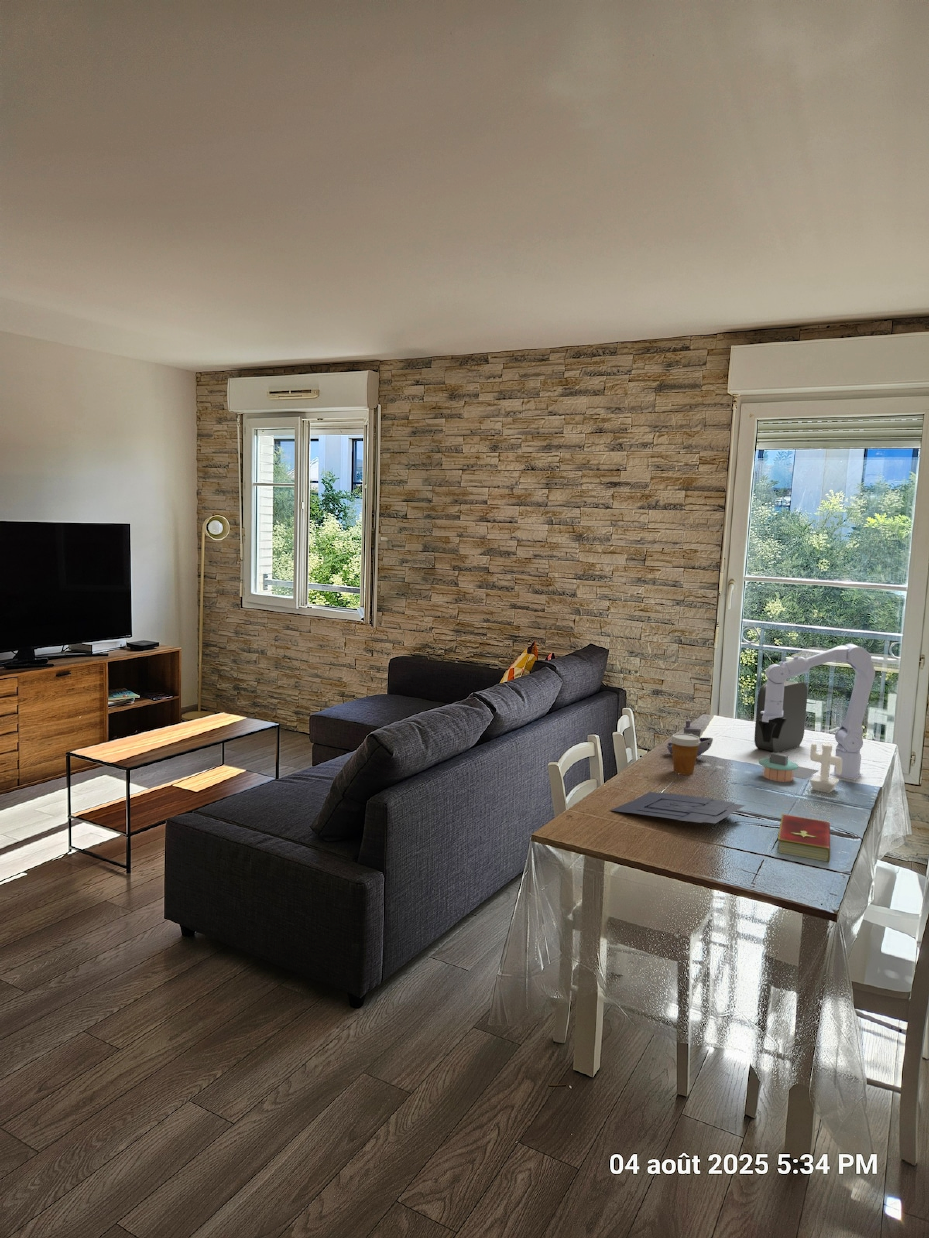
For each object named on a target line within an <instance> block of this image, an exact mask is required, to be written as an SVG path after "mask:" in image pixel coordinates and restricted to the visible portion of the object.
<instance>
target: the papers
mask: <svg viewBox="0 0 929 1238" xmlns="http://www.w3.org/2000/svg"><path fill="white" fill-rule="evenodd" d="M743 807H746V804H738V803H737V804H736V803H735V802H733V801H725V800H722V799H714V798H711V797H710V798H709V797H703V796H702V797H701V796H694V795H685V794H677V793H666V792H653V791H648V792H647V793H645V794H643V795H641V796H639V797H637V798H636V799H633V800H631V801H629V802H627V803H623V804H621V805H619V806H616V807H614V808H612V809H611V812H612V811H613V812H620V813H628V814H637V815H643V816H651V817H658V818H665V819H672V820H676V821H684V822H693V823H699V824H700V823H701V824H702V823H708V824H709V823H710V824H717V823H719V822H720V821H722V820H723V819H725V818H726V817H728V816H730V815H732V814H733V813H735V812H737V811H738V810H740V809H742V808H743Z"/></svg>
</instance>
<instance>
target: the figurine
mask: <svg viewBox="0 0 929 1238" xmlns="http://www.w3.org/2000/svg"><path fill="white" fill-rule="evenodd" d="M817 747H818V746H817V743H811V745H810V755H809V757H810V761H812V762H815V763H821V766H820V774H819V775H817V774H813V775H812V777H810V778H808V779H809V782H810V785H811V787H812V790H813V791H818V792H822V793H827V794H830V793H832V791H833V790H835V788H836V786H837V784H838V783H839V782H840V779H838V778H833V777H830V769H831V766H836V774H837V775H840V774H841V773H842V758H840V757H836V756H835V755H832V751H833V745H832V743H829V742H828V743H827V742H824V743H822V745H821V750H822V752H821V753H818V752H817V751H818V750H817Z"/></svg>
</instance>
